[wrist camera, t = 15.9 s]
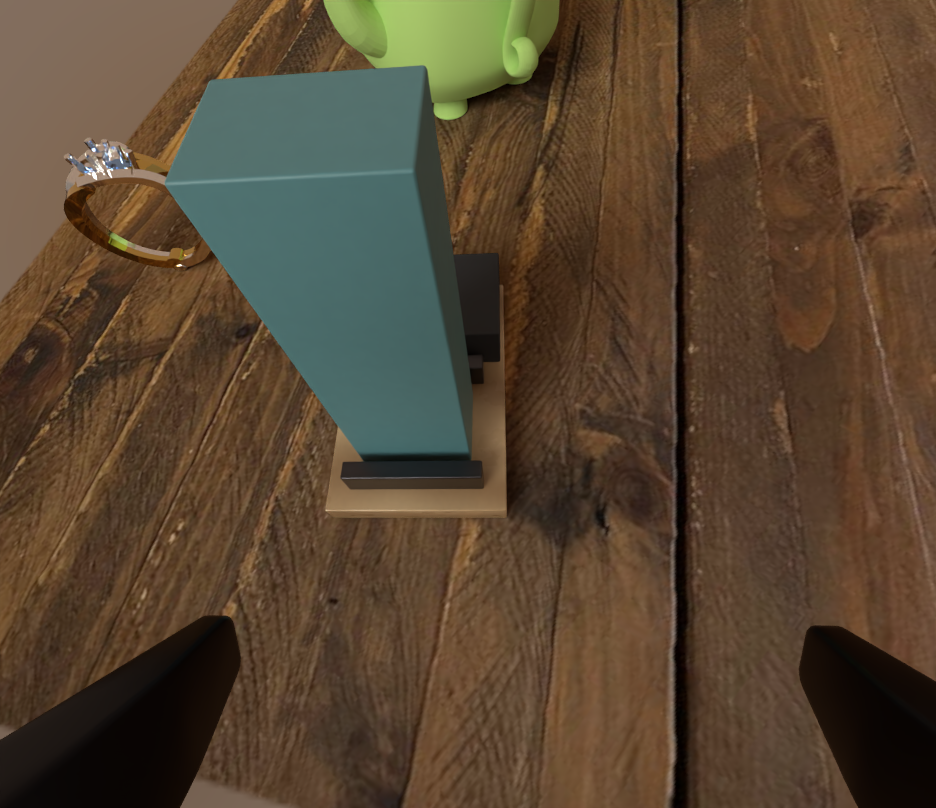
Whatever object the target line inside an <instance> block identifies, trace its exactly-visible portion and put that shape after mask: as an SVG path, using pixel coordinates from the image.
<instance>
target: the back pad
mask: <svg viewBox="0 0 936 808" xmlns="http://www.w3.org/2000/svg"><path fill="white" fill-rule="evenodd" d="M165 186H166V188H167V189H168V190H169V192H170V193H171V195H172V196H173V197H174V199H175V200H176V202H177V203H178V204H179V206H180V207H181V208H182V210H183V211H184V213H185V214H186V215H187V217H188V218H189V220H190V221H191V222H192V224H193V225H194V227H195V228H196V229H197V231H198V232H199V233H200V235H201V236H202V238H203V239H204V240H205V242H206V243H207V245H208V246H209V247H210V249H211V250H212V252H213V253H214V254H215V256H216V257H217V258H218V260H219V261H220V263H221V264H222V265H223V267H224V268H225V270H226V271H227V272H228V274H229V275H230V277H231V278H232V279H233V281H234V282H235V284H236V285H237V286H238V288H239V289H240V290H241V292H242V293H243V295H244V296H245V297H246V299H247V300H248V302H249V303H250V304H251V306H252V307H253V309H254V310H255V311H256V313H257V314H258V315H259V317H260V318H261V320H262V321H263V322H264V324H265V325H266V327H267V328H268V329H269V331H270V332H271V334H272V335H273V336H274V338H275V339H276V340H277V342H278V343H279V345H280V346H281V347H282V349H283V350H284V352H285V353H286V354H287V356H288V357H289V359H290V360H291V361H292V363H293V364H294V365H295V367H296V368H297V370H298V371H299V372H300V374H301V375H302V377H303V378H304V379H305V381H306V382H307V384H308V385H309V386H310V388H311V389H312V390H313V392H314V393H315V395H316V396H317V397H318V399H319V400H320V402H321V403H322V404H323V406H324V407H325V409H326V410H327V411H328V413H329V414H330V416H331V417H332V418H333V420H334V421H335V422H336V424H337V425H338V427H339V428H340V429H341V431H342V432H343V434H344V435H345V436H346V438H347V439H348V441H349V442H350V443H351V445H352V446H353V447H354V449H355V450H356V452H357V453H358V454H359V456H360V457H361V459H362V460H363V461H471V459H472V420H473V391H472V383H471V376H470V369H469V362H468V355H467V348H466V341H465V334H464V327H463V319H462V312H461V305H460V298H459V291H458V284H457V277H456V270H455V263H454V255H453V248H452V241H451V234H450V227H449V220H448V213H447V206H446V199H445V192H444V184H443V177H442V170H441V163H440V156H439V149H438V142H437V135H436V128H435V120H434V113H433V106H432V99H431V92H430V85H429V78H428V71H427V68H426V66H424V65H420V66H405V67H391V68H376V69H362V70H347V71H333V72H318V73H304V74H289V75H275V76H260V77H246V78H231V79H217V80H211V81H209V83H208V85H207V88H206V90H205V92H204V94H203V97H202V99H201V101H200V103H199V106H198V108H197V110H196V112H195V114H194V117H193V119H192V121H191V123H190V126H189V128H188V130H187V132H186V135H185V137H184V139H183V141H182V143H181V146H180V148H179V150H178V152H177V155H176V157H175V159H174V161H173V164H172V166H171V168H170V170H169V172H168V175H167V177H166V179H165Z"/></svg>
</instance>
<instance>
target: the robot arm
mask: <svg viewBox="0 0 936 808" xmlns="http://www.w3.org/2000/svg"><path fill="white" fill-rule="evenodd" d="M240 662H241V656H240V650H239V646H238V641H237V637H236V632H235V627H234V623H233V621H232V619H231V618H230V617H228V616H216V615H208V616H203V617H201V618H200V619H198V620H196V621H195V622H193V623H191V624H190V625H188V626H186V627H185V628H183V629H181V630H180V631H178V632H177V633H175V634H173V635H172V636H170V637H168V638H167V639H165V640H163V641H162V642H160V643H159V644H157V645H155V646H154V647H152V648H150V649H149V650H147V651H145V652H144V653H142V654H140V655H139V656H137V657H136V658H134V659H132V660H131V661H129V662H127V663H126V664H124V665H122V666H121V667H119V668H118V669H116V670H114V671H113V672H111V673H109V674H108V675H106V676H104V677H103V678H101V679H99V680H98V681H96V682H95V683H93V684H91V685H90V686H88V687H86V688H85V689H83V690H81V691H80V692H78V693H76V694H75V695H73V696H72V697H70V698H68V699H67V700H65V701H63V702H62V703H60V704H58V705H57V706H55V707H54V708H52V709H50V710H49V711H47V712H45V713H44V714H42V715H40V716H39V717H37V718H35V719H34V720H32V721H31V722H29V723H27V724H26V725H24V726H22V727H21V728H19V729H17V730H16V731H14V732H12V733H11V734H9V735H8V736H6V737H4V738H3V739H1V740H0V808H180V806H181V805H182V803H183V801H184V798H185V797H186V795H187V793H188V791H189V789H190V786H191V785H192V783H193V780H194V778H195V776H196V774H197V772H198V770H199V768H200V765H201V763H202V761H203V758H204V756H205V754H206V751H207V749H208V746H209V744H210V741H211V739H212V736H213V734H214V731H215V729H216V726H217V724H218V721H219V719H220V716H221V714H222V711H223V709H224V706H225V704H226V702H227V699H228V697H229V694H230V692H231V689H232V687H233V684H234V682H235V679H236V677H237V674H238V671H239V668H240ZM799 676H800V681H801V684H802V687H803V689H804V692H805V694H806V696H807V698H808V700H809V703H810V705H811V707H812V709H813V711H814V714H815V716H816V718H817V720H818V723H819V725H820V727H821V729H822V731H823V734H824V736H825V738H826V740H827V742H828V745H829V747H830V749H831V751H832V753H833V756H834V758H835V760H836V762H837V764H838V767H839V769H840V771H841V773H842V775H843V778H844V780H845V782H846V784H847V786H848V788H849V790H850V792H851V794H852V796H853V798H854V800H855V802H856V804H857V806H858V808H936V681H934V680H932V679H931V678H929V677H927V676H925V675H924V674H922V673H920V672H919V671H917V670H915V669H913V668H912V667H910V666H908V665H907V664H905V663H903V662H901V661H900V660H898V659H896V658H894V657H893V656H891V655H889V654H888V653H886V652H884V651H882V650H881V649H879V648H877V647H876V646H874V645H872V644H870V643H869V642H867V641H865V640H864V639H862V638H860V637H858V636H857V635H855V634H853V633H852V632H850V631H848V630H846V629H844V628H843V627H839V626H817V625H815V626H811V627H810V628H809V629H808V630H807V632H806V635H805V640H804V646H803V651H802V656H801V661H800V666H799Z"/></svg>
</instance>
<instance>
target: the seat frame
mask: <svg viewBox="0 0 936 808" xmlns="http://www.w3.org/2000/svg"><path fill="white" fill-rule="evenodd" d="M454 263H455V270H456V277H457V284H458V291H459V298H460V305H461V312H462V319H463V327H464V334H465V341H466V348H467V355H468V362H469V369H470V376H471V383H472V391H473V420H472V459H471V461H363V460H362V459H361V457H360V456H359V454H358V453H357V452H356V450H355V449H354V447H353V446H352V445H351V443H350V442H349V441H348V439H347V438H346V436H345V435H344V434H343V432H342V431H341V429H340V428H339V427H338V431H337V438H336V444H335V451H334V457H333V464H332V470H331V476H330V483H329V489H328V496H327V502H326V509H325V511H326V512H327V513H329V514H330V515H331V516H332V517H333V518H506V517H507V479H506V418H505V358H504V297H503V285H500V284H499V254H498V253H484V254H460V255H454Z"/></svg>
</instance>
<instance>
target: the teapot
mask: <svg viewBox="0 0 936 808" xmlns="http://www.w3.org/2000/svg"><path fill="white" fill-rule="evenodd" d="M323 1H324V4H325V7H326V10H327V12H328V15H329V17H330V19H331V21H332V23H333V25H334V26H335V28H336V30H337V31H338V32H339V33H340V35H341V36H342V37H343V39H344V40H345V41H346V42H347V43H348V44H350V45H351V46H352V47H354V48H355V49H356V50H358V51H359V52H361V53H363V54H364V55H365V57H366V58H367V59H368V60H369V61H370V63H371V64H372V65H373V66H374V67H375V68H391V67H405V66H420V65H424V66H426V68H427V71H428V78H429V85H430V92H431V99H432V103H434V114H435V115H436V116H437V117H438V118H441V119H445V120H452V119H456V118H459V117H461V116H463V115H464V114H465V113H466V112H467V109H468V106H467V98H471V97H474V96H477V95H480V94H483V93H486V92H489V91H491V90H494V89H496V88H498V87H500V86H502V85H504V84H506V83H507V84H521V83H524V82H527V81H528V80H529V79H530V78H531V77H532V73H533V72H534V71H535V69H536V68H537V65H538V57H539V56H540V54H541V53H542V52H543V50H544V49H545V48H546V46H547V44H548V43H549V41H550V39H551V37H552V36H553V34H554V31H555V29H556V26H557V23H558V19H559V0H323Z"/></svg>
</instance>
